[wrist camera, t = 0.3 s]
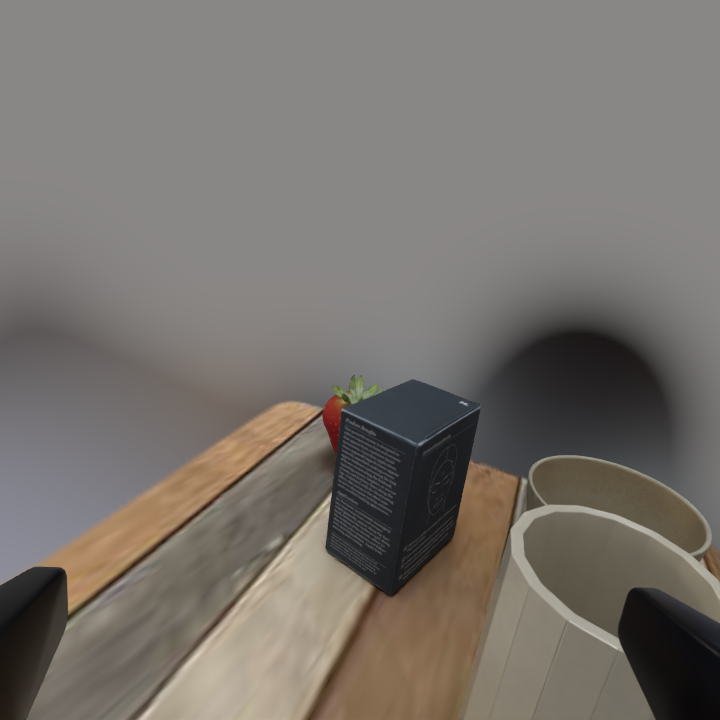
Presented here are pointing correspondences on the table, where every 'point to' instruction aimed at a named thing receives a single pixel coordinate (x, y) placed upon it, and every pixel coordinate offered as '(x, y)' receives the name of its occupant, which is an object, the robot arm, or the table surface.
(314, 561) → the table surface
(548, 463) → the bowl
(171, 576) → the table surface
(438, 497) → the box
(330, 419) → the fruit
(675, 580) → the tumbler
